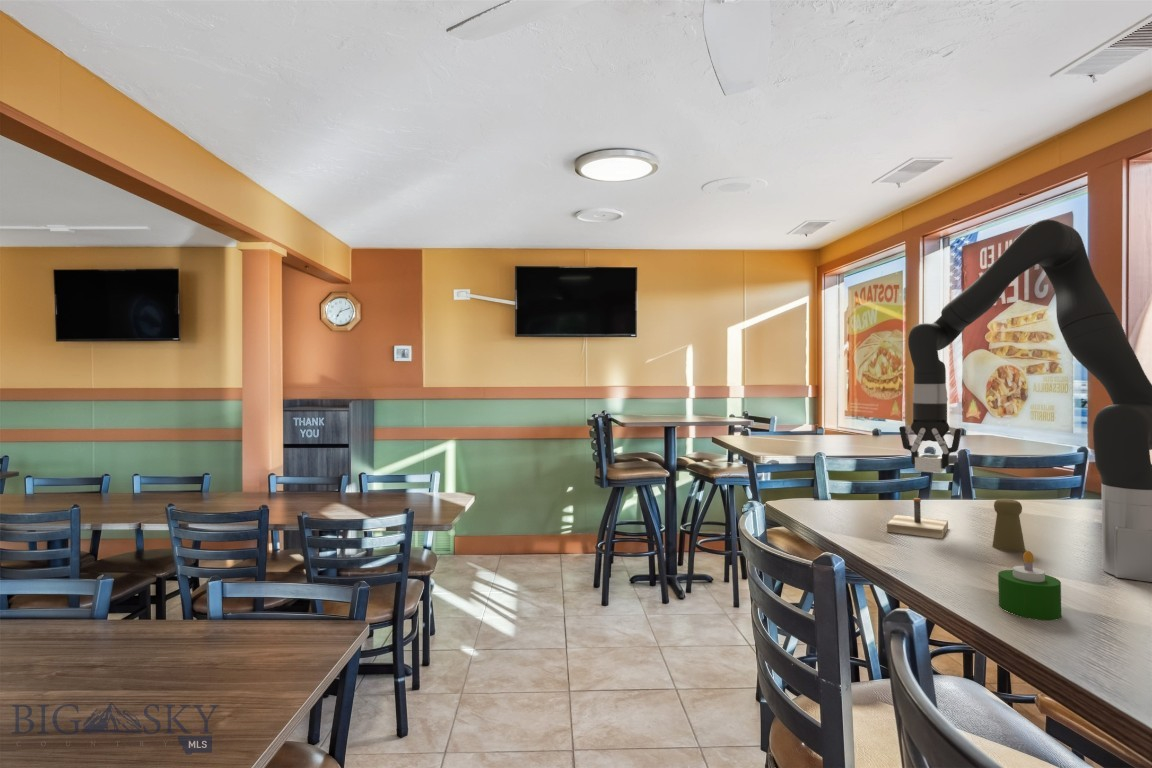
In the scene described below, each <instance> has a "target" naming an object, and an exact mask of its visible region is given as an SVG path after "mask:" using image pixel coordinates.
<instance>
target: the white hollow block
mask: <svg viewBox="0 0 1152 768" xmlns="http://www.w3.org/2000/svg"><path fill="white" fill-rule="evenodd" d="M945 470H946V469H942V454H933V453H931V454H930V453H920V454H919V455H918V456H916V457H915V466H914V471H915V472H922V473H937V474H941V473H942V472H943V471H945Z"/></svg>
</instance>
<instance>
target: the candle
mask: <svg viewBox="0 0 1152 768" xmlns="http://www.w3.org/2000/svg"><path fill="white" fill-rule="evenodd" d="M1034 559H1035V558H1034V555H1033V553H1032V551H1030V550H1025V551H1024V553H1023V555H1022V560H1023V562H1024V564H1023V565H1016V566H1013V567H1012V569H1006V570H1001V571H999V572H998V574H997V579H998V580H997V582H998V583H997V584H998V585H997V586H998V607H999V606H1000V607H1001V608H1002V609H1004V610H1006V611H1008V612H1010V613H1013V614H1015V615H1014V616H1016V615H1018V616H1017V617H1020V616H1021V617H1020V618H1025V619H1029V618H1030V619H1029V620H1035V619H1037V621H1057V620H1056V619H1058V620H1060V619H1061V618H1062V584H1061V583H1062V582H1061V581H1060V580H1059V579H1058V578H1056V577H1054V576H1051V575H1048V574H1046V573H1045V571H1044V570H1043V569H1040V568H1038V567H1034V566H1033V565H1034V564H1033V562H1034ZM1000 607H999V608H1000ZM1001 608H1000V609H1001ZM1002 609H1001V610H1002ZM1004 610H1003V611H1004ZM1006 611H1005V612H1006ZM1008 612H1007V613H1008ZM1010 613H1009V614H1010ZM1013 614H1012V615H1013ZM1059 618H1060V619H1059Z"/></svg>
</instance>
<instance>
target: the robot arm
mask: <svg viewBox="0 0 1152 768" xmlns="http://www.w3.org/2000/svg"><path fill="white" fill-rule="evenodd" d="M1036 265H1039V266H1040V267H1041V268H1042V271H1044V273H1045V275H1046V276H1047V279H1048V280H1049V282H1050V284H1051V286H1052V288H1053V290H1054V293H1055V305H1056V306H1055V307H1056V320H1057V321H1056V322H1057V324H1058V328H1059V331H1060V333H1061V334H1062V337H1063V339H1064V343H1065V344H1066V347H1067V348H1068V350H1069V352H1070V353H1071V354H1072V356H1073V357H1074V359H1076V360H1077V361H1078V362H1079V363H1080V364H1081V365H1082V366H1083V367H1084V368H1085V369H1086V370H1087V371H1088V372H1089V373H1090V374H1092V376H1093V377H1095V378H1096V379H1097V380H1098V381H1099V382H1100V384H1102V385H1101V386H1103V387H1104V389H1105V390H1106V392H1107V394H1108V395H1109V397H1110V400H1111V403H1112V404H1110V405H1107V406H1104V407H1103V408H1101V409H1100V410H1099V411H1098V413H1097V414H1096V415H1095V418H1094V420H1093V426H1092V437H1093V449H1094V451H1093V452H1094V453H1093V454H1094V462H1095V466H1096V469H1097V470H1096V471H1098V474H1099V475H1100V482H1101V484H1100V485H1101V539H1102V540H1101V542H1102V543H1101V544H1102V545H1101V546H1102V547H1101V548H1102V550H1101V551H1102V571H1104V572H1106V573H1107V574H1110V575H1113V576H1114V577H1116V578H1119V579H1128V580H1134V581H1135V580H1136V581H1142V582H1148V583H1152V461H1151V460H1152V459H1151V454H1150V451H1152V383H1151V381H1150V380H1149V378H1148V376H1147V374H1146V372H1145V371H1144V369H1143V366H1142V365H1141V362H1140V361H1139V358H1138V357H1137V354H1136V353H1135V351H1134V348H1133V347H1132V345H1131V343H1130V341H1129V339H1128V337H1127V334H1126V332H1125V330H1124V327H1123V326H1122V323H1121V321H1120V319H1119V317H1118V316H1117V313H1116V312H1115V310H1114V308H1113V307H1112V304H1111V302H1110V301H1109V298H1108V297H1107V295H1106V293H1105V290H1103V287H1102V286H1101V284H1100V283H1099V281H1098V280H1097V278H1096V276H1095V274H1094V272H1093V269H1092V266H1091V263H1090V261H1089V257H1088V254H1087V250H1086V247H1085V245H1084V241H1083V238H1082V236H1081V235H1080V233H1079V232H1078V231H1077V230H1076V228H1075V227H1071V226H1069V225H1068V224H1065V223H1062V222H1060V221H1057V220H1053V219H1042V220H1038V221H1036V222H1034V223H1032V224H1030V225H1029V226H1028V227H1026V228H1024V230H1023V231H1022V232H1021V233H1020V234H1019V235H1018V236H1017V237H1016V238H1015V239H1014V240H1013V242H1012V243H1011V244H1010V245H1009V246H1008V247H1007V248H1006V249H1005V250H1004V251H1003V253H1001V254H1000V256H998V258H997V259H996V260H994V262H993V263H992V264H991V265H990V266H989V267H988V268H987V269H986V270H985V271H984V272H983V273H982V274H981V275H980V276H979V277H978V278H977V279H976V280H975V281H974V282H972V284H970V285H969V286H968V287H967V288H965V289H964V290H963V291H962V292H961V293H959V294H958V295H957V296H955V297H954V298H953V299H952V300H951V301H949V302H948V303H947V304H946V305H945V306H944V307H943V308H942V310H941V312H940V313H941V315H940V316H939V317H938V318H937V319H936V320H935V321H933V322H932V323H928V322H927V323H926V322H923V323H917V324H915V325H914V326H913V327H912V328H911V330H910V331H909V335H908V338H907V339H908V341H907V343H908V346H907V347H908V350H909V354H910V358H911V362H912V365H913V390H912V423H911V425H901V426H899V433H900V438H901V443H902V444H901V445H902V448H903V449H904V450H908V451H909V452H910V454H911V456H910V457H911V460H910V461H911V464H912V465H913V466H914V467H915V457H916V456H918V455H919V448H920V446H921V444H922V443H923V442H928V441H930V442H935V443H937V444H938V446H939V447H940V449H941V451H942V453H941V455H942V469H945V470H947V467H949V465H950V454H952V453H956V452H957V451H958V450H959V446H960V441H961V437H962V433H963V429H962V428H961V427H953V426H952V427H951V426H950V425H949V423H948V400H949V398H948V391H947V384H946V383H947V377H946V376H947V375H946V373H947V372H946V365H945V363H944V362H943V361H942V360H940V358H939V352H938V351H941V350H943V349H945V348H946V347H948V346H949V345H951V344H952V343H953V342H955V340H956V339H957V337H959V336H960V335H961V334H962V332H963V331H964V330H965V329H966V328H967V327H968V326H970V325H971V324H972V323H974V322H975V321H976V320H977V319H979V318H980V317H982V316H983V315H985V313H987V312H989V310H990V309H991V308H993V306H994V305H995V304H996V303H997V301H998V300H999V299H1000V297H1001V296H1002V295H1003V293H1004V292H1005V290H1006V289H1007V288H1008V287H1009V285H1010V284H1011V283H1012V282H1014V280H1015V279H1017V278H1018V277H1019V276H1020V275H1022V274H1023V273H1025V272H1026V271H1028V270H1029V269H1031V268H1033V267H1034V266H1036ZM911 430H912V432H913V433H914V434H915V436H916V437H915V439H914V443H913V444H911V443H910V439H909V434H910V433H911ZM948 432H950V435H951V436H952V437H953V439H952V442H951V443H952V444H951V446H950V447H949V446H948V444H947V441H946V439H945V436H946V434H947V433H948Z"/></svg>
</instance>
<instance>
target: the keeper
mask: <svg viewBox="0 0 1152 768" xmlns="http://www.w3.org/2000/svg"><path fill="white" fill-rule="evenodd" d="M913 511H914V512H913V513H914V514H913V516H909V515H900V514H895V515H894V516H893V517H892V518H891V519H890V520H889V521H888V522H887V523H886V532H889V533H896V534H904V535H911V536H912V535H913V536H919V537H920V536H921V537H929V538H936V539H943V537H944V536H945V534H946V532H947V531H948V528H949V520H947V519H946V520H945V519H938V518H928V517H922V516H921V498H919V497H913Z"/></svg>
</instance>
